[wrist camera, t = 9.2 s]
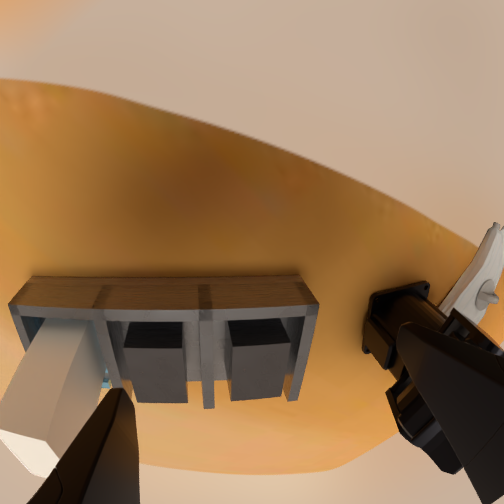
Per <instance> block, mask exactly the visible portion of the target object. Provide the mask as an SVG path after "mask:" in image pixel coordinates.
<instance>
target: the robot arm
mask: <svg viewBox="0 0 504 504" xmlns="http://www.w3.org/2000/svg"><path fill="white" fill-rule="evenodd" d="M429 288H430V284H429V283H428V282H427V281H423V282H419V283H415V284H411V285H407V286H403V287H399V288H395V289H391V290H387V291H382V292H378V293H375V294H373V295H372V296H371V299H370V305H369V311H368V318H367V320H366V326H365V332H364V338H363V347H362V351H363V352H364V353H365V354H369V353H372V354H373V356H374V357H375V358H376V360H377V361H378V363H379V364H380V365H381V367H382V368H383V369H384V370H387V369H389V371H390V372H391V373H392V375H393V376H394V377H395V379H396V380H397V382H396V383H395V384H394V385H393V386H392V387H391V388H389V389H388V390H387V391H386V392H385V393H386V396H387V399H388V402H389V405H390V407H391V410H392V413H393V415H394V418H395V421H396V424H397V427H398V429H399V432H400V434H401V435H402V436H403V437H404V438H405V439H406V440H408V441H409V442H410V443H412V444H413V445H415V446H417V447H420V448H421V449H422V450H423V451H424V452H425V453H427V454H428V455H429V457H430V458H431V459H432V460H433V461H434V462H435V464H436V465H437V466H438V467H439V468H440V470H441V471H443V472H447V473H450V474H456V473H457V472H458V471H460V470H461V469H462V468H463V467H464V470H465V471H466V473H467V475H468V477H469V479H470V481H471V483H472V485H473V487H474V489H475V490H476V492H477V494H478V496H479V498H480V500H481V502H482V504H492V503H493V502H494V501H496V500H497V499H499V498H500V497H501V496H503V495H504V350H503V349H502V348H501V347H500V346H499V345H498V344H497V343H496V342H495V341H494V340H493V339H492V338H491V337H490V336H489V335H488V334H487V333H486V332H485V331H483V330H482V329H481V328H480V327H479V326H478V325H476V324H475V323H474V322H473V321H472V320H470V319H469V318H468V317H466V316H465V315H463V314H462V313H461V312H459V311H458V310H457V309H455V308H454V307H453V309H452V310H451V312H450V315H449V316H448V317H447V316H446V315H445V314H444V313H443V312H442V311H440V310H439V309H438V308H437V307H436V306H435V305H434V304H432V303H431V302H430V301H429V300H428V299H427V297H428V293H429ZM376 299H377V300H376ZM55 467H56V468H54V469H53V470H52V471H51V473H50V474H49V476H48V477H47V479H46V480H45V482H44V483H43V484H42V486H41V487H40V488H39V489H38V491H37V492H36V493H35V494H34V496H33V497H32V498H31V499H30V501H29V502H28V503H27V504H140V493H139V448H138V439H137V429H136V418H135V408H134V405H133V402H132V401H131V399H130V397H129V396H128V394H127V392H126V390H125V389H124V388H122V387H120V388H111V389H110V390H109V391H108V393H107V394H106V395H105V397H104V398H103V399H102V401H101V402H100V404H99V405H98V406H97V408H96V409H95V410H94V412H93V413H92V415H91V416H90V417H89V419H88V420H87V422H86V423H85V424H84V426H83V427H82V429H81V430H80V431H79V433H78V434H77V436H76V437H75V438H74V440H73V441H72V443H71V444H70V446H69V447H68V448H67V450H66V451H65V453H64V454H63V456H62V457H61V459H60V460H59V461H58V463H57V464H56V466H55Z"/></svg>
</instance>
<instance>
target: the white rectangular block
mask: <svg viewBox="0 0 504 504" xmlns="http://www.w3.org/2000/svg"><path fill="white" fill-rule="evenodd" d="M105 371H106V364H105V361H104V358H103V354H102V351H101V347H100V343H99V340H98V336H97V332H96V328H95V324H94V320H76V319H59V318H46V319H45V321H44V322H43V324H42V326H41V327H40V329H39V330H38V332H37V334H36V336H35V337H34V339H33V341H32V342H31V344H30V346H29V348H28V349H27V351H26V353H25V355H24V357H23V359H22V360H21V362H20V364H19V366H18V368H17V370H16V372H15V374H14V376H13V378H12V380H11V382H10V384H9V386H8V388H7V390H6V392H5V394H4V396H3V398H2V400H1V403H0V439H1V440H2V441H3V442H4V443H5V445H6V446H7V447H8V448H9V449H10V450H11V452H12V453H13V454H14V455H15V456H16V457H17V459H18V460H19V461H20V462H21V463H22V464H23V465H24V466H25V467H26V468H27V469H28V470H29V471H30V472H31V473H32V474H33V475H36V476H40V477H44V478H47V477H48V476H49V474H50V473H51V471H52V470H53V469H54V468H56V467H55V466H56V464H57V463H58V461H59V460H60V459H61V457H62V456H63V454H64V453H65V451H66V450H67V448H68V447H69V446H70V444H71V443H72V441H73V440H74V438H75V437H76V436H77V434H78V433H79V431H80V430H81V429H82V427H83V426H84V424H85V423H86V422H87V420H88V419H89V417H90V416H91V415H92V413H93V412H94V410H95V409H96V408H97V404H98V400H99V395H100V391H101V387H102V383H103V379H104V375H105Z"/></svg>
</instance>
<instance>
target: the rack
mask: <svg viewBox="0 0 504 504" xmlns="http://www.w3.org/2000/svg"><path fill="white" fill-rule="evenodd" d="M8 306H9V309H10V312H11V315H12V318H13V321H14V324H15V326H16V329H17V332H18V334H19V337H20V340H21V342H22V345H23V347H24V349H25V352H26V351H27V349H28V348H29V346H30V344H31V342H32V341H33V339H34V337H35V336H36V334H37V332H38V330H39V329H40V327H41V326H42V324H43V322H44V321H45V319H46V318H59V319H76V320H94V324H95V328H96V332H97V336H98V340H99V343H100V347H101V351H102V354H103V358H104V361H105V364H106V371H105V375H104V379H103V383H102V387H101V388H110V387H111V383H112V386H113V388H120V387H122V388H124V389H125V390H126V392H127V394H128V396H129V397H130V399H131V397H132V390H133V389H134V393H135V396H136V399H137V402H141V403H188V388H187V381H201V382H202V394H203V406H204V409H212V408H215V406H214V381H215V380H227V382H228V388H229V393H230V399H231V401H239V400H251V399H262V398H271V397H280V396H281V394H282V389H283V390H284V393H285V396H286V399H287V401H295V400H298V396H299V392H300V388H301V384H302V380H303V376H304V372H305V368H306V364H307V360H308V356H309V351H310V347H311V342H312V338H313V333H314V329H315V324H316V319H317V314H318V309H319V303H318V301H317V300H316V298H315V297H314V295H313V294H312V292H311V291H310V290H309V288H308V287H307V285H306V284H305V282H304V281H303V279H302V278H301V277H300V275H283V276H244V277H178V278H94V277H33V276H32V277H31V278H30V279H29V280H28V281H27V282H26V283H25V285H24V286H23V287H22V288H21V289H20V290H19V292H18V293H17V294H16V295H15V296H14V297H13V299H12V300H11V301H10V302H9V303H8Z"/></svg>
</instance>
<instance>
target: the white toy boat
mask: <svg viewBox="0 0 504 504" xmlns="http://www.w3.org/2000/svg"><path fill="white" fill-rule="evenodd" d="M499 228H500V224H498V223H496V222H494V223H493V227H491V228H489V229H488V230H487V232H486V234H485V236H484V238H483V240H482V242H481V244H480V246H479V247H478V248H479V250H478V251H477V253H476V255H475V257H474V259H473V261H472V262H471V263H470V265H469V266H468V268H467V269H466V270H465V271H464V273H463V274H462V275H461V277H460V278H459V280H458V281H457V283H456V284H455V286H454V287H453V289H452V290H451V291H450V293H449V294H448V295H447V297H446V298H445V299H444V301H443V302H442V303H441V305H440V306H439V307H438V309H439V310H440V311H442V312H443V313H444V314H445V315H446V316H447V317H448V316H449V315H450V312H451V310H452V309H453V307H454V308H455V309H457V310H458V311H459V312H461V313H462V314H463V315H465V316H466V317H468V318H469V319H470V320H472V321H473V322H474V323H475V324H476V325H477V324H478V323H479V322H480V320H481V319H482V318H483V316H484V314H485V312H486V309H487V307H488V305H489V303H493V304H497V303H498V300H499V297H498V296H497V295H496V294H495V293H494V290H495V288H496V286H497V283H498V281H499V279H500V276H501V273H502V270H503V267H504V226H503V228H502V229H501V231H500V230H499Z"/></svg>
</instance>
